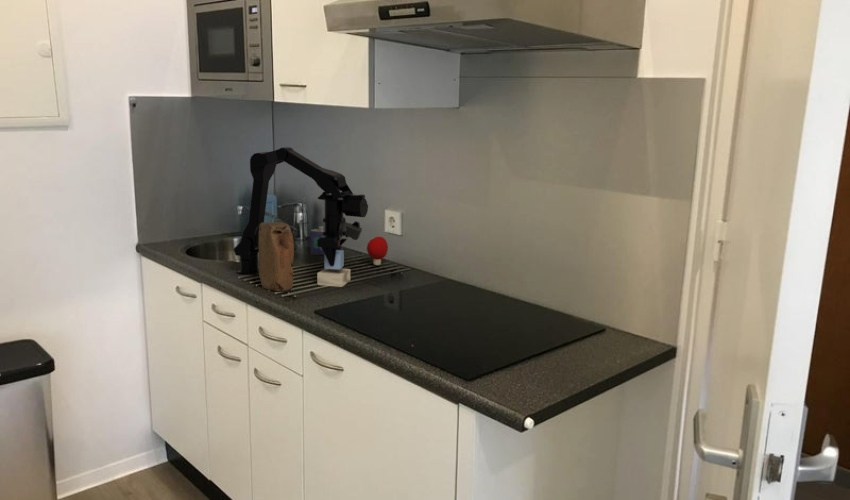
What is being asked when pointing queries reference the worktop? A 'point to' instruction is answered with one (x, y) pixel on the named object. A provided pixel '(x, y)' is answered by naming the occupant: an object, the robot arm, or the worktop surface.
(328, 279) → the beech base
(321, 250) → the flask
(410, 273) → the worktop surface
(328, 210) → the robot arm
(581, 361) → the worktop surface
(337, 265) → the slate cube
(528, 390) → the worktop surface
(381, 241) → the red toy tree
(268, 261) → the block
